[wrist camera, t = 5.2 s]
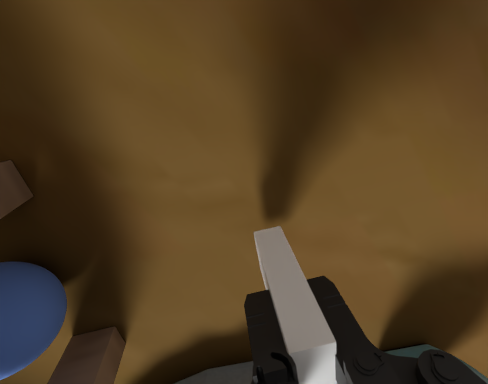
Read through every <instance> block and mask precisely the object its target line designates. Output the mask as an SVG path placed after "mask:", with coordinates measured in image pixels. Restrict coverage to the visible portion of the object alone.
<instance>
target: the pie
mask: <svg viewBox="0 0 488 384" xmlns="http://www.w3.org/2000/svg"><path fill="white" fill-rule="evenodd" d="M253 365H254V364H253V361H251V362H245V363H240V364H234V365H228V366H223V367H217V368H212V369H207V370H205V371H202V372H200V373H198V374H195V375H193V376H191V377H188V378H186V379H183V380H181V381H179V382H176V383H174V384H251V382H252V379H253V377H252V374H253Z"/></svg>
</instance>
